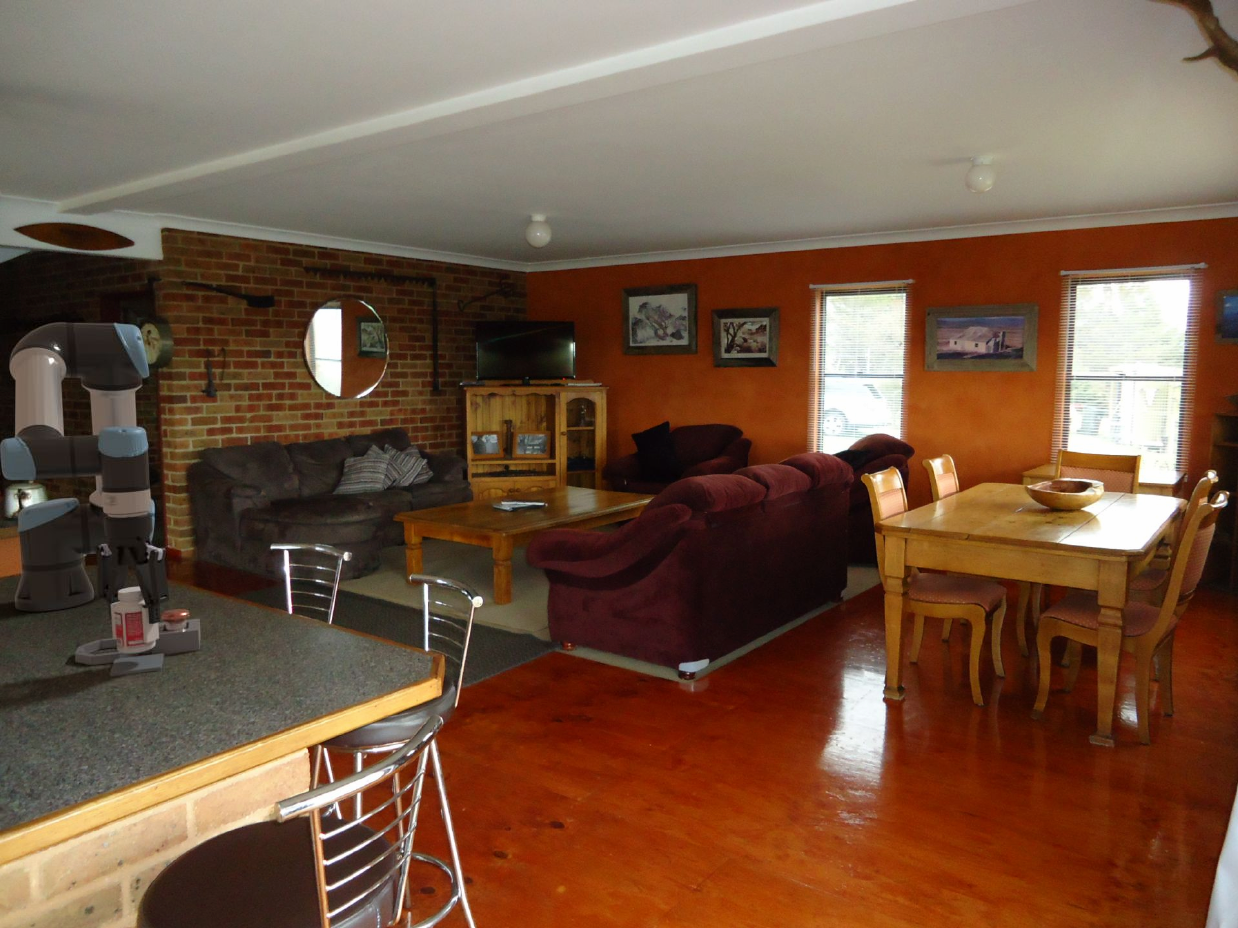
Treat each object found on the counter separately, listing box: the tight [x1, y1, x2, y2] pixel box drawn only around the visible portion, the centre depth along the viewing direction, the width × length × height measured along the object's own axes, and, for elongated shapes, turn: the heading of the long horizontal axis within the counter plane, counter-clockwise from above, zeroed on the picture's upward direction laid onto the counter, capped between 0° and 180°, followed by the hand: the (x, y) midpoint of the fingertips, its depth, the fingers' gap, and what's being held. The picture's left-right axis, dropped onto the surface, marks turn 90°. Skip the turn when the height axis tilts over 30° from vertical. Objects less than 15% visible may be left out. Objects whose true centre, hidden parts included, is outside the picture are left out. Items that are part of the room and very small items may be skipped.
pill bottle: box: [114, 586, 156, 653], centre depth 157 cm, size 6×6×11 cm
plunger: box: [160, 608, 190, 631], centre depth 168 cm, size 5×5×6 cm
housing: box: [74, 618, 202, 666], centre depth 166 cm, size 10×21×4 cm, turn 114°
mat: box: [109, 653, 165, 677], centre depth 158 cm, size 8×8×1 cm
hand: (136, 638), depth 157 cm, fingers closed on pill bottle, 6 cm apart
